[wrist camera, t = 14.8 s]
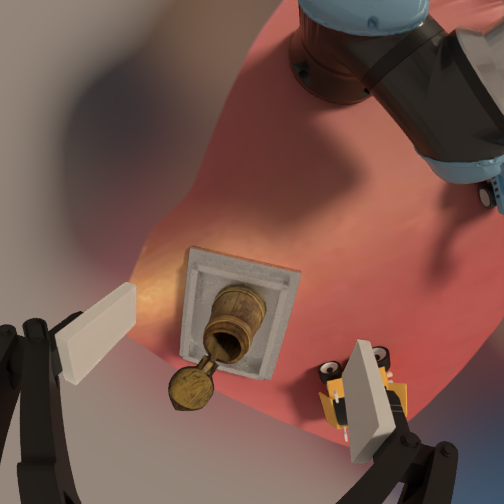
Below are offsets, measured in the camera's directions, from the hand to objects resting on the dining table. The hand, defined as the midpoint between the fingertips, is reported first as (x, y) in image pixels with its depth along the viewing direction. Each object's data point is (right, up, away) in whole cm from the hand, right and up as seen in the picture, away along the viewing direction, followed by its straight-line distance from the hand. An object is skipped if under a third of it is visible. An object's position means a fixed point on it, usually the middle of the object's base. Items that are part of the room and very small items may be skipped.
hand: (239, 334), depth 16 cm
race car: (+22, -20, +35) cm, 46 cm away
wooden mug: (-3, -7, +34) cm, 34 cm away
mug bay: (-2, -7, +35) cm, 35 cm away
